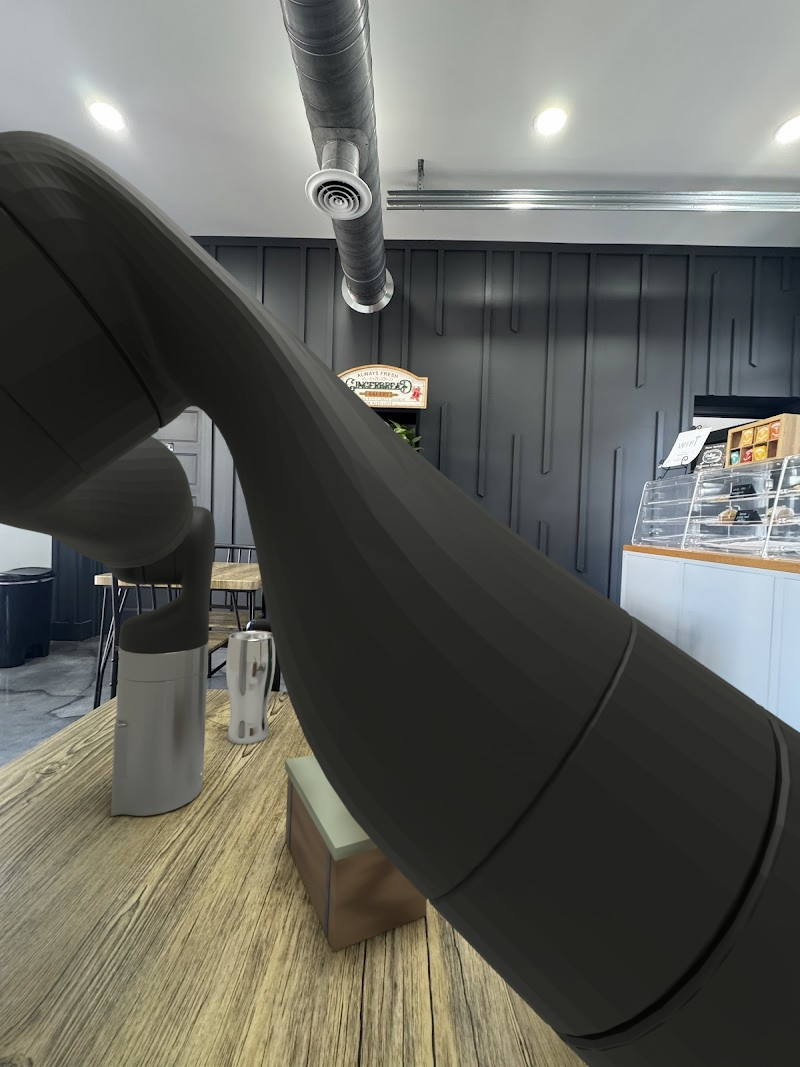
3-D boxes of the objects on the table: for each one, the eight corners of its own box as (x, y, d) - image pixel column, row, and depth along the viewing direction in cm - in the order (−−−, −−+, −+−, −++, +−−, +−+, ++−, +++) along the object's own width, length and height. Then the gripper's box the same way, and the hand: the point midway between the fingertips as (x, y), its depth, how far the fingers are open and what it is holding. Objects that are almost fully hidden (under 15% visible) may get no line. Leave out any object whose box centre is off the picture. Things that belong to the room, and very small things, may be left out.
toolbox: (331, 956, 34) (336, 834, 34) (281, 838, 47) (285, 750, 47) (431, 916, 38) (435, 807, 38) (360, 818, 51) (364, 736, 51)
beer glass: (226, 749, 66) (231, 641, 66) (220, 730, 72) (224, 631, 72) (276, 741, 69) (281, 638, 69) (266, 723, 75) (270, 629, 75)
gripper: (507, 839, 23) (471, 716, 40) (805, 856, 23) (645, 724, 39) (512, 686, 23) (474, 626, 40) (809, 700, 23) (647, 633, 39)
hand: (559, 675), depth 39 cm, fingers open, 8 cm apart
